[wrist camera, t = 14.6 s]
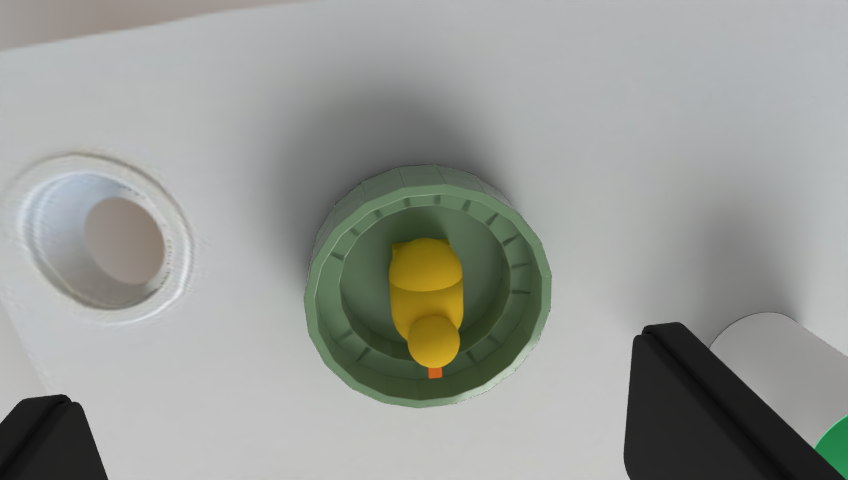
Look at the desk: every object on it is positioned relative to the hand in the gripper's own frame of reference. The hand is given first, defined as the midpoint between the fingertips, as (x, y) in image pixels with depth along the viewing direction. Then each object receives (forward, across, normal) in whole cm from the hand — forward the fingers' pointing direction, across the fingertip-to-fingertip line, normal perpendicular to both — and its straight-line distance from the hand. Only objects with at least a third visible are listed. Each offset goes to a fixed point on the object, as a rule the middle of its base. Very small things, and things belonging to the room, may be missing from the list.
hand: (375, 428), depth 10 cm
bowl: (+26, -3, +9) cm, 28 cm away
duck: (+25, -3, +9) cm, 27 cm away
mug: (+26, -26, +20) cm, 42 cm away
